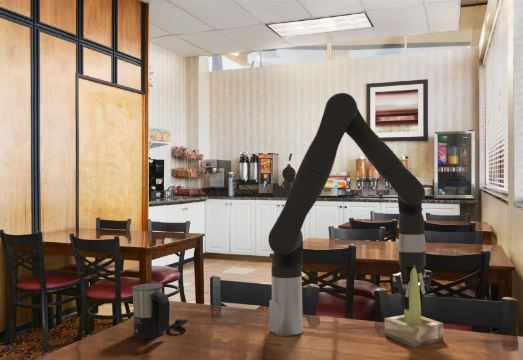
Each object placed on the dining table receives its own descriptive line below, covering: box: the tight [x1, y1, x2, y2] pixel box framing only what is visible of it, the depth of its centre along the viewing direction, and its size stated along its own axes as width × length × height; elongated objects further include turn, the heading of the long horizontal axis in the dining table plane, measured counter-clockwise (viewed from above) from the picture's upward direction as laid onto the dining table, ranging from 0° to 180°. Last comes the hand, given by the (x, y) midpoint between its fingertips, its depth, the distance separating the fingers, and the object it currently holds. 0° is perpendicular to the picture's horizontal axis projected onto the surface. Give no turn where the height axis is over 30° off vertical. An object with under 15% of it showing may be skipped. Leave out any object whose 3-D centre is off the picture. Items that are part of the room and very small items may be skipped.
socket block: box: [384, 314, 444, 348], centre depth 144 cm, size 11×12×5 cm
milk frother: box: [131, 282, 190, 339], centre depth 154 cm, size 14×16×15 cm
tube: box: [403, 265, 422, 326], centre depth 144 cm, size 6×5×20 cm
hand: (412, 307), depth 144 cm, fingers closed on tube, 4 cm apart
